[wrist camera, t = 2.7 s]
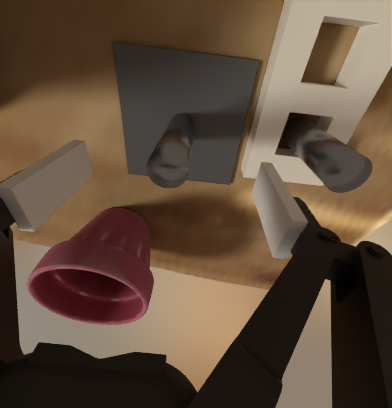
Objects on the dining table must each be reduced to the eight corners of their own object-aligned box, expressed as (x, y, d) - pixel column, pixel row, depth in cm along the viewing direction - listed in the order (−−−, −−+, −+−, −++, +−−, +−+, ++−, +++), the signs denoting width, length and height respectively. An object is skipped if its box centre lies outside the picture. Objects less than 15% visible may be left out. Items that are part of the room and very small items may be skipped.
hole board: (240, 168, 26) (243, 177, 24) (295, -41, 15) (308, -55, 13) (314, 176, 26) (322, 185, 24) (418, -24, 16) (449, -35, 14)
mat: (129, 172, 27) (128, 173, 27) (114, 42, 19) (112, 42, 19) (229, 183, 28) (229, 184, 27) (258, 60, 19) (259, 60, 19)
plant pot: (152, 262, 39) (133, 335, 29) (79, 241, 36) (29, 313, 26) (177, 212, 31) (162, 288, 21) (86, 179, 28) (17, 249, 18)
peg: (169, 138, 24) (147, 185, 15) (169, 111, 22) (145, 147, 13) (194, 141, 24) (186, 190, 15) (196, 114, 22) (189, 152, 13)
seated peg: (276, 141, 24) (318, 190, 15) (286, 114, 22) (339, 153, 13) (301, 144, 24) (356, 194, 15) (312, 118, 22) (382, 158, 13)
